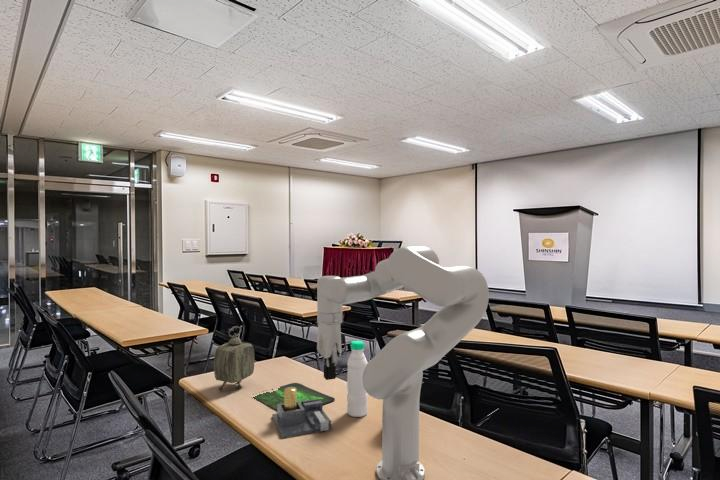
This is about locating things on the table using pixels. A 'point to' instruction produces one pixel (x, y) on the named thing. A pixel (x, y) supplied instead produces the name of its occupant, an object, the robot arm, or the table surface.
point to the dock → (299, 418)
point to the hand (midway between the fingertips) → (329, 378)
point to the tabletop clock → (233, 361)
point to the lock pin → (321, 421)
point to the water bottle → (356, 381)
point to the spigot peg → (289, 399)
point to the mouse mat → (301, 395)
